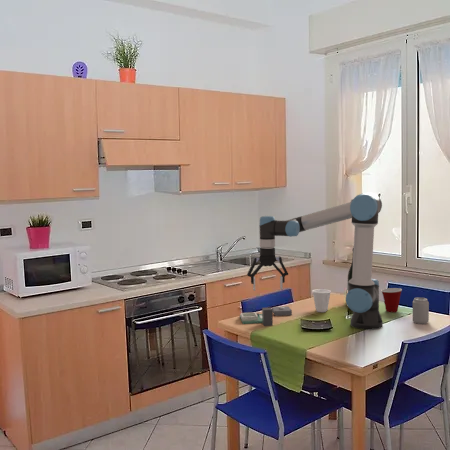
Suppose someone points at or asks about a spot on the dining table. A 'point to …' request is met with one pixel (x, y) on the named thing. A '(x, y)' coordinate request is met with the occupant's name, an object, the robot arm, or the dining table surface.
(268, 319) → the plug
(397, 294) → the plastic cup
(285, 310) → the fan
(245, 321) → the board
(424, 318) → the can
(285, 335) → the dining table surface
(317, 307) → the cup
